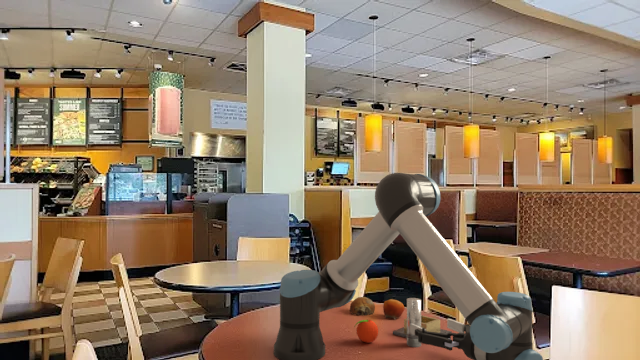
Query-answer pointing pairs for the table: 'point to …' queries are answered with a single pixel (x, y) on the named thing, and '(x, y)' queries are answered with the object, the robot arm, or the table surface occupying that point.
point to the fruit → (393, 308)
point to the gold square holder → (423, 326)
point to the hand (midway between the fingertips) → (430, 325)
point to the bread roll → (362, 306)
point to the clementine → (367, 330)
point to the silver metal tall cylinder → (413, 320)
